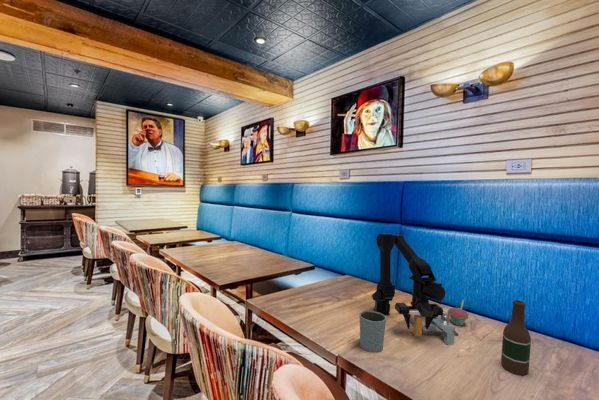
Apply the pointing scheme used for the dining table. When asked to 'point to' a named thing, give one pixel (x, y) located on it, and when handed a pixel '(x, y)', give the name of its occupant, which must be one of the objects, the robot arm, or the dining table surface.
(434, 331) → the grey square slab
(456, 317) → the cupcake
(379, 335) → the grey cup
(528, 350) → the beer bottle
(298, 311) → the dining table surface
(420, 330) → the orange upright bar
